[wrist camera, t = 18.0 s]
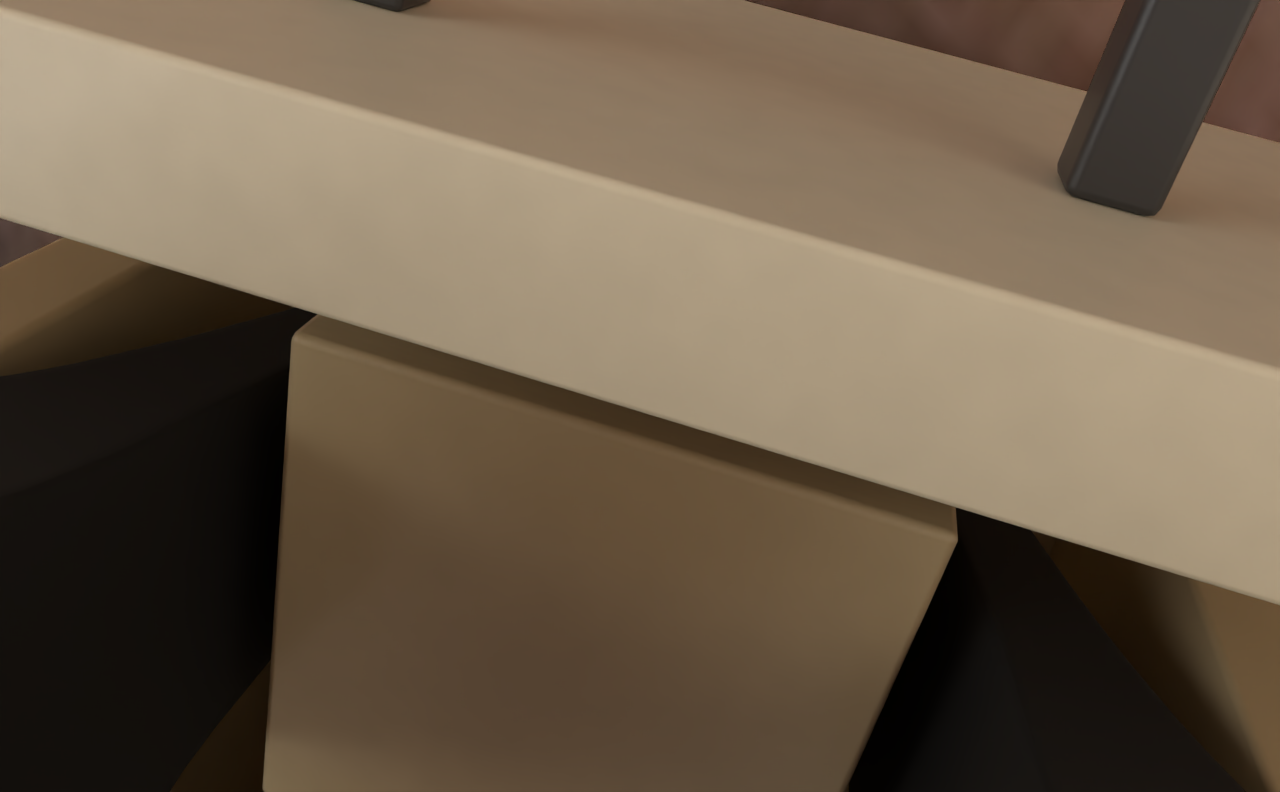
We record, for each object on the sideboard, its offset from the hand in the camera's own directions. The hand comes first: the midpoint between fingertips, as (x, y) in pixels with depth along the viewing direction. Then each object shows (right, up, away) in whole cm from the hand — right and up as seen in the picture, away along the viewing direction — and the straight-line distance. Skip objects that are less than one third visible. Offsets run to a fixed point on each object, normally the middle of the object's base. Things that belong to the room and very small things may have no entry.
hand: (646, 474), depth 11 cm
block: (0, +1, +1) cm, 1 cm away
